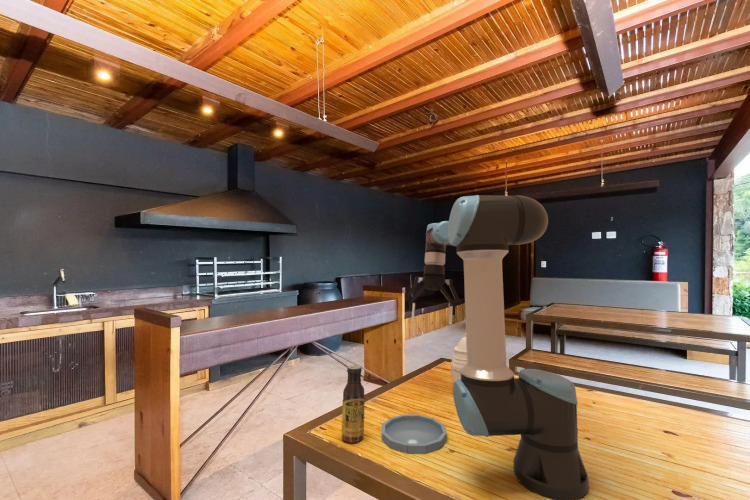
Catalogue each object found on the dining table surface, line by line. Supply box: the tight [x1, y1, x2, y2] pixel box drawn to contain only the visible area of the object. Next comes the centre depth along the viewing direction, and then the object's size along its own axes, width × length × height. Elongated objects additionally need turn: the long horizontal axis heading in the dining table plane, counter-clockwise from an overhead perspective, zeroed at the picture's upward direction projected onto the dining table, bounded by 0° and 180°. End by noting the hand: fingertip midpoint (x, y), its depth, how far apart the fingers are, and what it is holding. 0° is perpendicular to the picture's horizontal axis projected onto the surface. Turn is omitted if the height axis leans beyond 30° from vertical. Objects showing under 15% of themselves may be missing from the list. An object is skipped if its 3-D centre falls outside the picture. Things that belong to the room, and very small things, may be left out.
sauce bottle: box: [341, 364, 366, 444], centre depth 97 cm, size 6×6×20 cm
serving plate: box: [381, 414, 448, 455], centre depth 98 cm, size 18×18×2 cm
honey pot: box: [450, 332, 467, 380], centre depth 147 cm, size 13×13×18 cm
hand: (431, 322), depth 125 cm, fingers open, 13 cm apart
